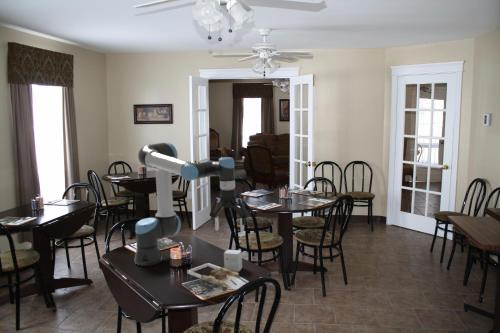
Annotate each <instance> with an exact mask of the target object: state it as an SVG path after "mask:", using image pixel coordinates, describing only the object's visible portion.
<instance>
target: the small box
mask: <svg viewBox="0 0 500 333" xmlns="http://www.w3.org/2000/svg"><path fill="white" fill-rule="evenodd" d="M223 262H224V263H223V265H224V266H223V268H225V269H228V270H231V271H234V272H237V273H239V272H241V270H242V268H243V256H242V250H239V249H238V250H237V249H235V250H234V249H227V250H225V251H224V252H223Z"/></svg>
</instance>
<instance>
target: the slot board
mask: <svg viewBox="0 0 500 333" xmlns="http://www.w3.org/2000/svg"><path fill="white" fill-rule="evenodd" d="M220 270H222V272H224V273H226V274H227V278H224V279H222V280H219V279H216V278H215V277H214V276H211V274H210V275H205V274H202V276H201V280H203V281H206V282H208V283H211V284H214V285H216V286H220V285H222V284H224V283H227V282H229V281H232V280H234V279H236V278H238V277H240V273H239V272H237V271H231V270H228V269H225V268H224V267H221V268H220Z"/></svg>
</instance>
